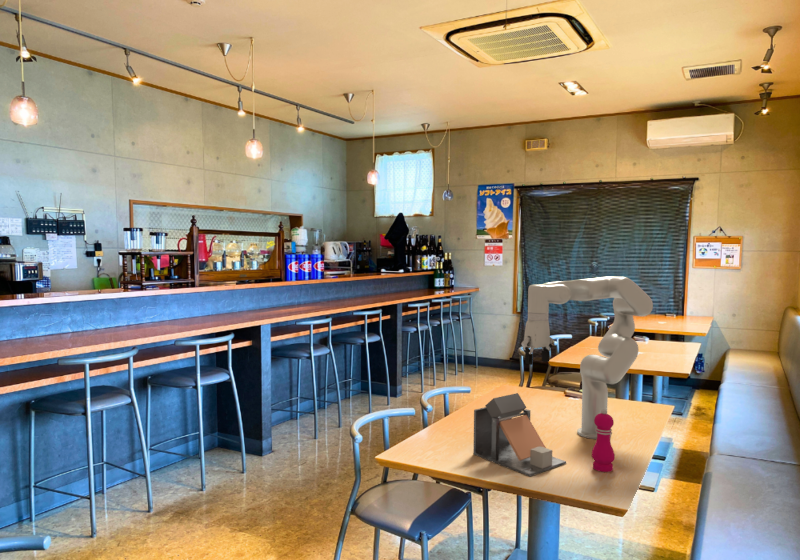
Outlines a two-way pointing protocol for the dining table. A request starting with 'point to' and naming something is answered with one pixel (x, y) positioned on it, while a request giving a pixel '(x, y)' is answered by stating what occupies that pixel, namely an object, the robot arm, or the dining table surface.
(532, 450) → the light grey cube
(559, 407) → the dining table surface
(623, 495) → the dining table surface
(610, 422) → the pepper mill
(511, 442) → the trapdoor
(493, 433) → the frame
